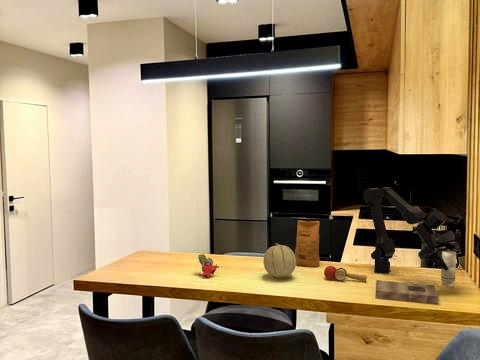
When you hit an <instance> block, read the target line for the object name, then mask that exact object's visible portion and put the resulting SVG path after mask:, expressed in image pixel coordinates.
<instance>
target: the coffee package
mask: <svg viewBox="0 0 480 360" xmlns="http://www.w3.org/2000/svg"><path fill="white" fill-rule="evenodd" d="M320 225H321V224H320V221H319V220H315V221H314V220H313V221H305V220H300V219H299V220H297V226H296V227H297V231H296V232H297V233H296V245H295V250H294V255H295V258H296V266H297V267H303V266H304V267H306V268H316V267H317V268H318V267H319V265H320V264H321V259H320V254H319V253H320V251H319V250H320V249H319V247H320Z"/></svg>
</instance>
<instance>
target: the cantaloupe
mask: <svg viewBox="0 0 480 360" xmlns="http://www.w3.org/2000/svg"><path fill="white" fill-rule="evenodd" d="M263 267H264V270H265V271H266V272H267V274H268V275H270V276H271V277H273V278H276V279H284V278H287V277H289V276H290V275H292V274H293V273H294V271H295V270H296V258H295V252H294V251H293V250H292V249H291V248H290V247H289V246H288V245H287V246H286V245H283V244H279V243H276V242H275V243H274V245H273V246H270V247H269V248H268V249H266V252H265V253H264V256H263Z"/></svg>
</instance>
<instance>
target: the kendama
mask: <svg viewBox="0 0 480 360" xmlns="http://www.w3.org/2000/svg"><path fill="white" fill-rule="evenodd" d="M323 276H324V278H326V279H328V280H329V281H330V280H332V281H333V280H339V281H343V280H344V279H345V278H349V279H352V280H355V281H359V282H362V283H367V277H368V275H366V274H365V275H364V274H358V273H350V272H349V273H348V271H347V270H346V269H345V268H344V267H338V268H337V267H335V266H334V265H328V266H325V268H324V270H323Z"/></svg>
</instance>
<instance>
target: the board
mask: <svg viewBox="0 0 480 360" xmlns="http://www.w3.org/2000/svg"><path fill="white" fill-rule="evenodd" d="M375 299H381V300H390V301H398V302H400V301H401V302H409V303H419V304H426V305H427V304H429V305H439V301H440V300H439V294H438V291H437V289H436V286H435V285H434V284H428V283H427V284H424V283H413V282H403V281H393V280H391V281H390V280H380V279H375Z"/></svg>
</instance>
